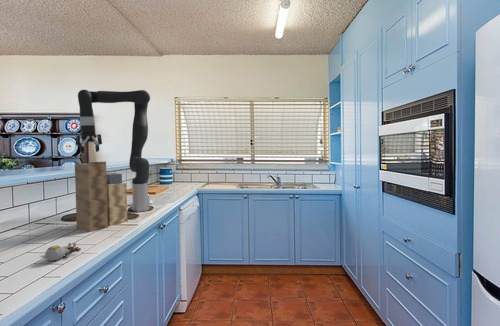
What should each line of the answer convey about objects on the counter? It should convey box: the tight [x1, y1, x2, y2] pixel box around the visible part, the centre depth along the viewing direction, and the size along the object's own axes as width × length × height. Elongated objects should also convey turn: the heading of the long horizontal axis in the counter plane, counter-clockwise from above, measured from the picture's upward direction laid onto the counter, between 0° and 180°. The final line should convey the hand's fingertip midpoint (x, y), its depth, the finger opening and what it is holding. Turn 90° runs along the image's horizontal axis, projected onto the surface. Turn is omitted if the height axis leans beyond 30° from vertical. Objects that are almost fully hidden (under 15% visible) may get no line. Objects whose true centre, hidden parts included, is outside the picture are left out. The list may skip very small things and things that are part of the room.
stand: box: [74, 161, 109, 233], centre depth 150 cm, size 9×12×33 cm
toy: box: [44, 242, 81, 262], centre depth 114 cm, size 12×5×15 cm
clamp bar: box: [106, 172, 123, 185], centre depth 165 cm, size 7×22×5 cm, turn 57°
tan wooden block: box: [107, 182, 128, 227], centre depth 162 cm, size 10×12×21 cm
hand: (90, 152), depth 180 cm, fingers open, 8 cm apart
